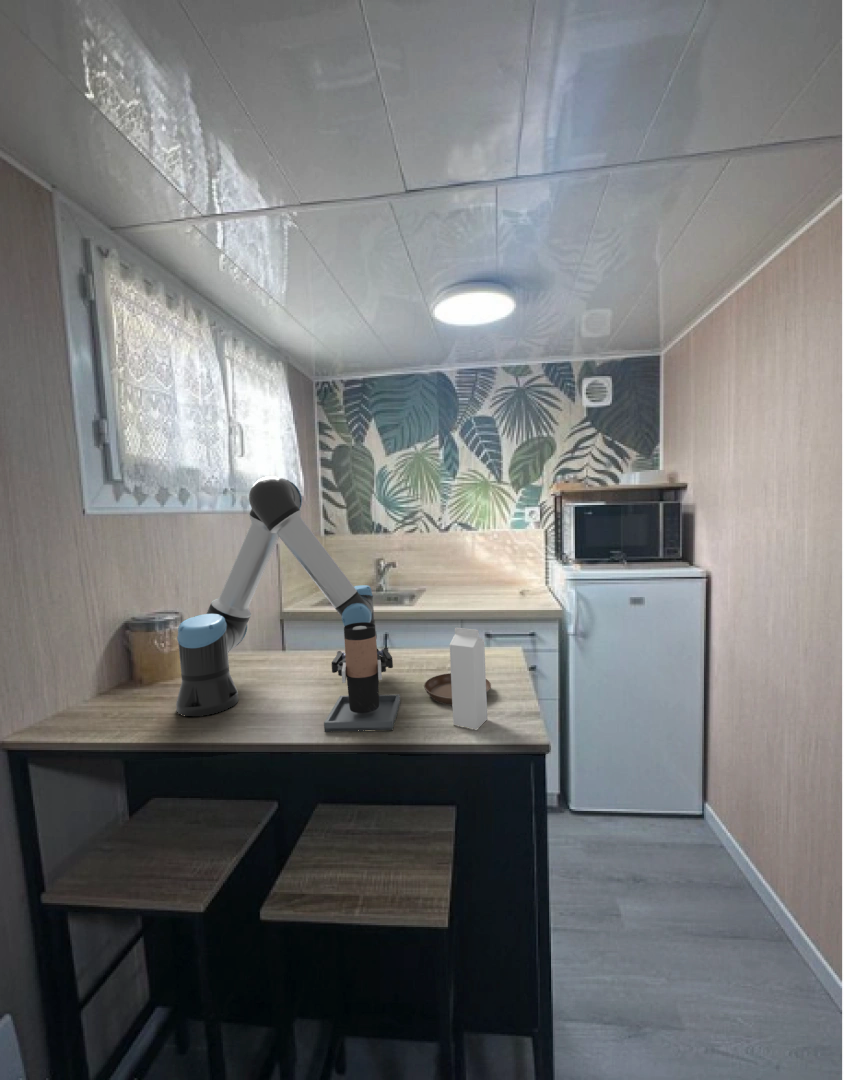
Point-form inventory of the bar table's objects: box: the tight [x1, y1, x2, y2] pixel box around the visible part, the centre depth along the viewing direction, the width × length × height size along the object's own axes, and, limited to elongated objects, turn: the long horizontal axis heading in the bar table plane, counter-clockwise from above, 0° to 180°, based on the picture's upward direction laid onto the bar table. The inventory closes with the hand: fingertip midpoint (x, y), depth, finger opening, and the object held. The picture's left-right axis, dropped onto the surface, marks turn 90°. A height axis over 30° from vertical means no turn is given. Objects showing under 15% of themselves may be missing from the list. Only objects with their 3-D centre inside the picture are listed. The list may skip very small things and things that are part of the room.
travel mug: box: [343, 622, 380, 713], centre depth 116 cm, size 8×8×20 cm
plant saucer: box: [423, 672, 492, 706], centre depth 128 cm, size 18×18×3 cm
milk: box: [449, 627, 488, 730], centre depth 111 cm, size 6×6×22 cm
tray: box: [323, 693, 401, 733], centre depth 117 cm, size 16×16×2 cm
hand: (361, 675), depth 112 cm, fingers closed on travel mug, 8 cm apart
